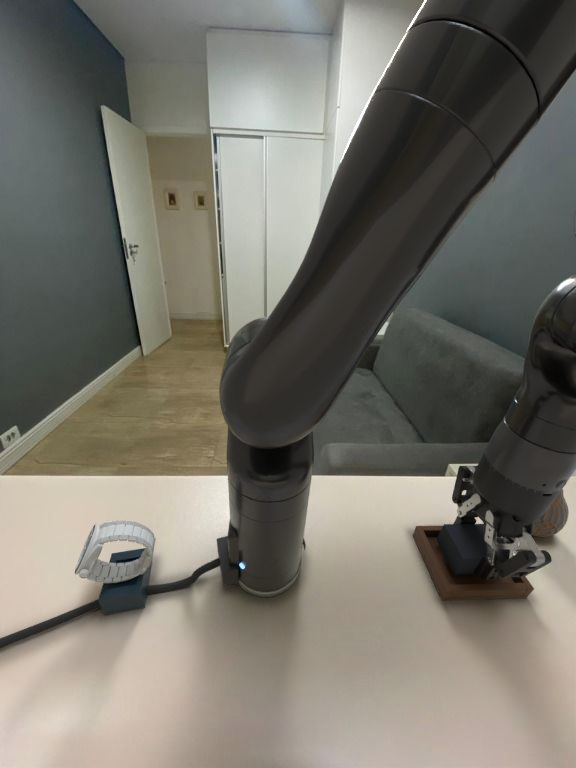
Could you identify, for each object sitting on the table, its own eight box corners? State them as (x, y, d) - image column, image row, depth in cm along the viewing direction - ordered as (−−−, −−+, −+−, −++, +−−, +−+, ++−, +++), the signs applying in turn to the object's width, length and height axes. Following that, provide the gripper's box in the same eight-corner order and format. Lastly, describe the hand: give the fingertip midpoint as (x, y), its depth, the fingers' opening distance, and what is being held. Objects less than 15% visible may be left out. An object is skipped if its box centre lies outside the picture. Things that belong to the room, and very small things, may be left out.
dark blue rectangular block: (454, 575, 40) (463, 559, 38) (436, 539, 44) (443, 523, 43) (504, 574, 41) (516, 558, 39) (482, 538, 45) (491, 523, 43)
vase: (563, 549, 46) (595, 510, 42) (513, 539, 47) (539, 500, 43) (540, 511, 52) (566, 473, 48) (496, 503, 53) (517, 465, 49)
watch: (100, 570, 40) (76, 514, 34) (166, 559, 41) (153, 504, 36) (85, 619, 35) (55, 563, 30) (160, 604, 37) (144, 549, 31)
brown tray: (441, 600, 39) (446, 591, 38) (412, 534, 47) (416, 525, 46) (527, 597, 40) (534, 588, 39) (484, 533, 48) (489, 524, 47)
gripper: (457, 423, 40) (421, 510, 48) (542, 520, 28) (474, 615, 36) (511, 424, 41) (466, 510, 49) (619, 519, 28) (534, 613, 36)
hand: (470, 554), depth 42 cm, fingers closed on dark blue rectangular block, 5 cm apart
